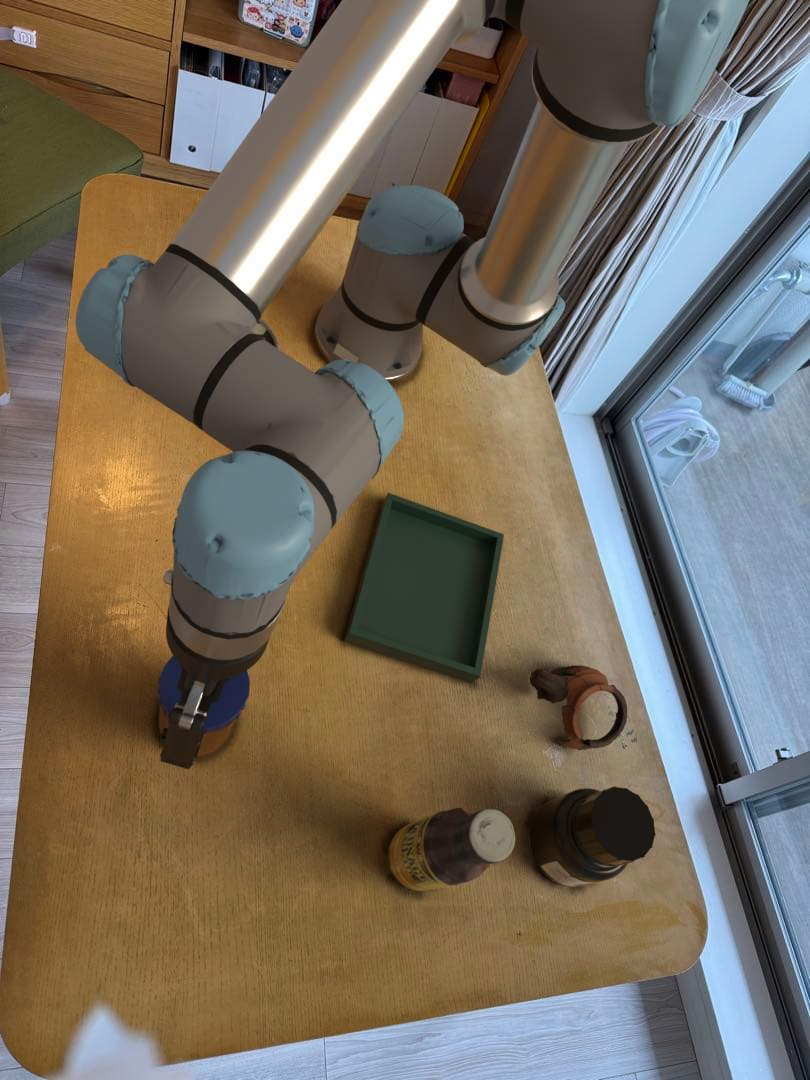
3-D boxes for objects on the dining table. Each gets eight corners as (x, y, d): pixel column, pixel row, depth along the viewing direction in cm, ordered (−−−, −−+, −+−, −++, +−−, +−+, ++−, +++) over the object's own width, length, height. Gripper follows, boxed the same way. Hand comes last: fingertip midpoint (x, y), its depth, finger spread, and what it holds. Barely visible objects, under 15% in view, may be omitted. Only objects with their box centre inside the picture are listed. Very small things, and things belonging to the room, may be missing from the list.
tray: (382, 503, 97) (387, 492, 95) (496, 543, 99) (504, 534, 97) (343, 641, 86) (348, 632, 84) (472, 683, 89) (480, 676, 86)
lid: (143, 719, 67) (143, 712, 65) (177, 638, 71) (178, 631, 70) (231, 746, 68) (233, 740, 66) (259, 665, 72) (261, 658, 71)
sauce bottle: (382, 827, 78) (449, 786, 61) (440, 824, 80) (520, 784, 63) (386, 898, 75) (459, 875, 58) (447, 894, 77) (533, 870, 60)
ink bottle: (537, 897, 79) (595, 885, 69) (513, 808, 83) (565, 785, 73) (616, 876, 83) (682, 861, 73) (589, 792, 86) (648, 767, 76)
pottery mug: (601, 676, 95) (646, 691, 87) (571, 748, 94) (614, 769, 86) (525, 638, 90) (565, 650, 83) (493, 714, 89) (531, 733, 82)
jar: (174, 676, 79) (179, 638, 70) (242, 697, 80) (255, 662, 71) (147, 744, 75) (149, 713, 66) (218, 765, 76) (230, 737, 67)
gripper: (219, 481, 60) (198, 601, 79) (111, 735, 49) (116, 804, 68) (312, 514, 61) (269, 624, 80) (226, 769, 50) (200, 827, 69)
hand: (199, 707), depth 74 cm, fingers closed on lid, 8 cm apart
